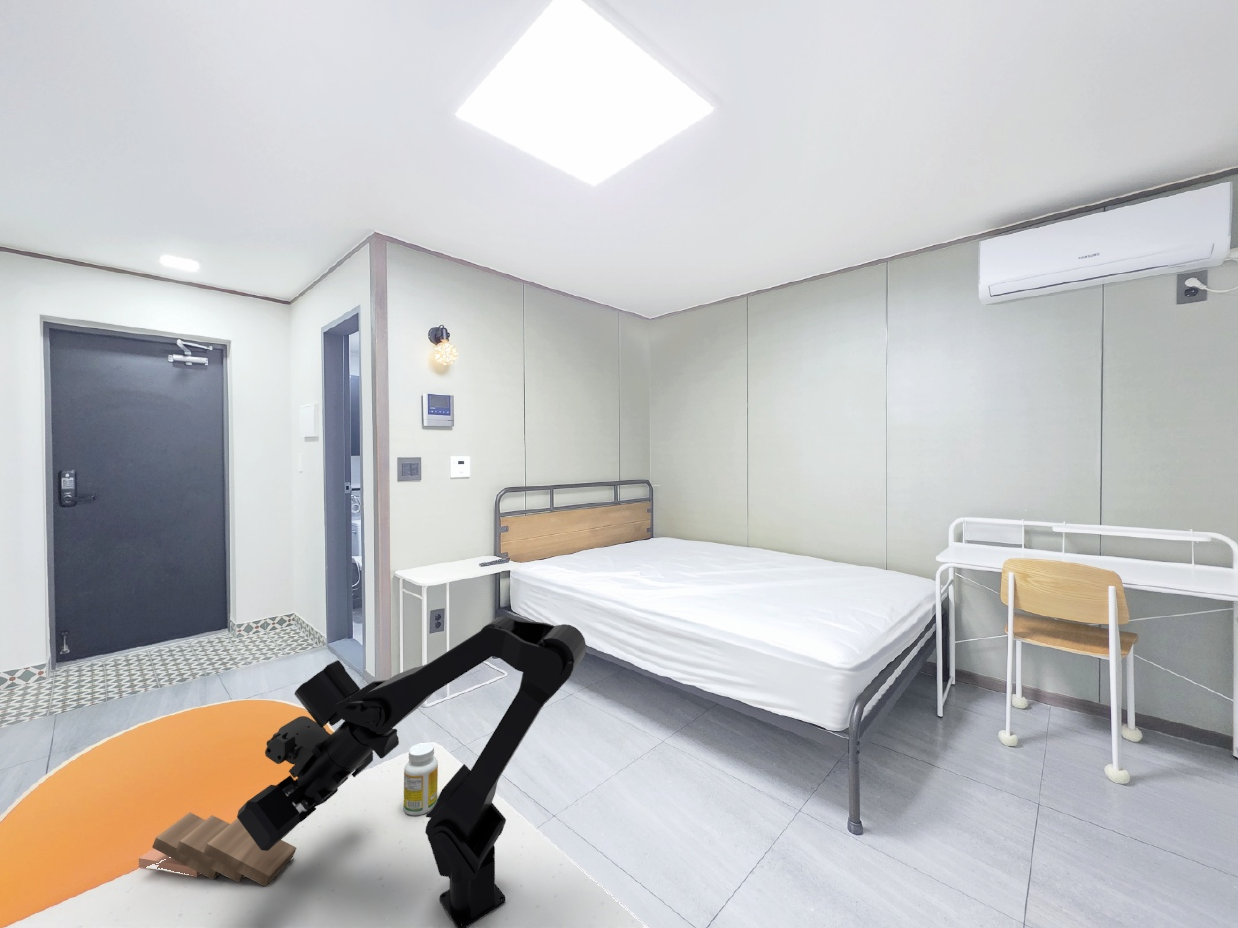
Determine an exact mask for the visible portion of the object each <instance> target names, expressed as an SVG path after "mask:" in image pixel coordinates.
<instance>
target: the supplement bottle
mask: <svg viewBox="0 0 1238 928" xmlns="http://www.w3.org/2000/svg"><path fill="white" fill-rule="evenodd" d="M438 763H439V762H438V759H437V757H436V756H435V746H434V744H433V743H431V742H421V743H417V744H414V745H413V746H411V747H410V748H409V749H408V761H407V762H406V763H405V766H404V768H403V769H404V770H403V811H404V812H405V813H406V814H407V815H409V816H414V817H415V816H420V815H424V814H427V813H428V812H429V811H430V809H431V808H432V807H433V806H434V805H435V803H436V802H437V799H438V781H439V779H438V778H439V777H438V776H439V775H438V773H439V772H438V771H439V770H438V769H439V764H438Z"/></svg>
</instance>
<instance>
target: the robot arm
mask: <svg viewBox="0 0 1238 928" xmlns="http://www.w3.org/2000/svg"><path fill="white" fill-rule="evenodd" d="M586 652H587V644H586V639H585V637H584V635H583V633H582V632H581V630H579V629H578V628H577V627H575V626H573V625H571V624H566V623H565V624H564V623H563V624H558V625H554V624H550V623H546V622H542V621H541V622H540V621H539V622H538V621H530V620H529V621H527V620H519V619H517V618H512V617H508V616H500V617H497V618H495V619H494V620H492V621H491V622H488V623H487V624H486V625H485V626H483V627H482V628H481V629H480V630H479V631H478V632H476V633H475V634H473V635H471V636H470V637H468V638H467V639H465V640H464V641H462V642H460V643H459V644H457V645H456V646H454V647H452V648H450V649H449V650H448V651H446V652H444V653H442V654H441V655H440V656H438V657H437V658H436V657H435V659H433V660H431V662H428V663H426V664H424V665H420V666H417V667H413V668H410V669H407V670H405V671H403V672H400V673H398V674H395V675H393V676H391V677H390V678H388V679H385V680H384V679H383V680H374V681H371V682H370V683H368V684H366V685H365V686H363V687H362V688H360V687H359V685H358V684H357V682H356V681H355V680H354V679H353V678H352V677H351V676H350V674H349V673H348V671H347V670H346V668H345V666H344V665H343V663H342V662H341V661H340V660H338V659H337V660H335V661H333V662H330V663H329V664H327V665H326V666H325V667H324V668H323V669H321V670H320V671H319V672H317V673H316V674H314V675H313V676H312V677H311V678H309V679H308V680H307V681H305V682H303V683H302V684H300V685H299V686H298V688H297V689H296V690H295V692H294V696H295V697H296V699H297V700H298V701H299V702H300V703H301V705H302V706H303V707H304V709H305V710H306V712H308V714H309V715H310V716H311V718H310V717H308V716H305V715H301V716H298V717H296V718H295V719H293V720H291V721H289V722H288V723H285V724H284V725H282V726H281V727H280V728H278V730H277V732H276V733H275V732H274V734H273V735H272V737H271V738H269V739H268V740H267V741H266V749H265V750H264V755H265V757H266V758H268V759H269V760H270V761H272V762H273V763H275V764H277V765H281V764H282V763H284V762H285V761H286V762H287V763H289V764H291V765H293V766H292V767H291V768H290V769H288V773H289V774H290V775H288V776H287V777H285V778H284V779H283V780H282V781H280V782H278V783H277V784H276V785H275V784H270V785H268V786H267V787H265V788H264V789H262V790H261V791H260V792H258V793H257V794H255V795H254V796H253V797H251V798H249V800H247V801H246V802H245V803H244V804H243V805H242V806H241V807H240V808H239V809H238V812H237V816H236V819H237V818H238V819H239V821H240V822H241V823H242V825H243V826H244V827H245V829H246V830H247V832H248V833H249V834H250V836H251V837H252V838H253V840H254V841H255V842H256V844H257V845H258V847H259V848H260V849H261V850H263V851H268V850H270V849H271V848H272V847H273V846H274V845H275V844H277V843H278V842H279V841H280V840H283V839H284V838H285V837H286V836H288V835H289V834H290V833H291V832H292V830H293V829H295V828H296V827H297V826H298V825H299V824H300V823H302V822H303V821H305V820H306V819H307V818H308V817H309V816H310V815H312V814H313V813H314V812H315V811H317V808H316V807H318V806H320V805H322V804H325V803H326V802H327V801H328V800H329V799H331V797H333V796H334V795H335V794H337V792H338V790H339V788H340V787H341V786H342V785H343V784H344V783H345V782H346V781H347V780H348V779H349V776H350V775H352V777H353V778H356V777H357V776H359V774H360V773H362V772H363V771H364V770H365V769H366V768H367V767H368V766H369V765H370V764H371V763H372V762H373V761H374V753H375V755H377V757H378V758H379V759H383V758H385V757H386V756H387V755H388V754H390V753H391V752H392V751H393V750H395V748H397V747H398V746H399V744H400V741H399V740H400V739H399V735H398V729H397V728H395V727H396V726H397V725H398V724H399V723H401V722H402V721H403V720H405V719H407V718H408V717H409V716H410V715H411V714H412V713H413V712H415V711H416V710H417V709H418V708H419V707H420V706H421V705H423V703H425V702H426V701H427V700H429V698H430V697H431V696H432V695H433V694H434V693H436V692H437V691H439V690H440V689H441V688H443V687H445V686H447V685H449V684H450V683H451V682H454V681H455V680H456V679H458V678H460V677H461V676H463V675H464V674H466V673H468V672H469V671H472V669H474V668H475V667H478V666H479V665H481V664H482V663H484V662H486V661H487V660H489V659H490V658H492V657H494V658H497V659H501V660H502V661H503V662H505V663H506V664H507V665H509V667H512V668H513V669H515V670H516V671H518V672H522V674H521V681H520V684H519V688H518V691H517V693H516V695H515V697H514V698H513V700H512V701H511V703H510V704H509V706H508V708H507V709H506V711H505V713H504V715H503V716H502V718H501V719H500V721H499V723H498V725H497V726H496V727H495V729H494V731H493V733H492V734H491V736H490V738H489V740H488V741H487V742H486V744H485V746H484V748H483V749H482V751H481V753H480V754H479V756H478V757H477V759H476V761H475V762H474V764H473V765H472V767H471V769H470V768H469V767H468V766H467V765H466V764H465V763H464V764H463V765H461V767H460V768H459V769H458V770H457V772H455V774H453V776H452V777H451V778H450V780H449V781H448V782H447V783H446V784H445V785H444V787H443V788H442V789H441V791H440V793H439V794H438V796H437V802H436V803H435V805H434V806H433V807H432V808H431V809H430V811H428V812H427V813H425V817H426V818H428V819H429V820H428V821H427V823H426V825H425V826H426V827H425V832H424V833H425V835H426V836H427V841H428V842H429V844H430V848H431V850H432V854H433V858H434V860H435V864H436V867H437V871H438V874H439V876H440V877H446V878H448V879H449V889H447V890H445V891H444V892H442V893H440V895H439V902H440V904H441V905H442V908H443V909H444V911H445V912H446V913H447V915H448V917H449V918H450V920H451V922H452V923H453V925H454V927H456V928H468V927H470V926H471V925H473V924H474V923H476V922H478V921H479V920H480V919H482V918H484V917H485V916H487V915H488V914H490V913H492V912H493V911H494V910H496V909H497V908H499V907H501V906H502V905H503V904H505V903H506V896H505V894H504V893H503V891H502V890H501V889H500V888H499V887H498V885H497V884H496V849H495V848H496V847H495V843H496V841H497V840H498V838H499V837H500V836H501V835H502V833H503V830H504V828H505V825H506V822H507V819H506V818H505V816H504V815H503V814H502V813H501V812H500V810H499V809H498V808H497V807H496V805H494V803H493V800H494V797H495V795H496V792H497V786H498V782H499V780H500V778H501V776H502V775H503V772H504V771H505V770H506V768H507V767H508V765H509V763H510V762H511V760H512V758H513V756H514V755H515V754H516V751H517V750H518V749H519V747H520V745H521V743H522V741H523V740H524V738H525V737H526V735H527V734H528V732H529V730H530V729H531V727H532V725H533V724H534V722H535V721H536V719H537V718H538V716H539V713H541V710H542V709H543V707H544V706H545V705H546V704H547V703H548V702H549V701H550V700H551V698H552V697H553V696H554V695H555V694H557V692H558V691H559V690H560V688H562V687H563V685H564V684H565V683H566V682H567V681H568V680H569V678H570V677H571V676H572V674H574V671H575V670H576V669H577V667H578V665H579V664H580V663H581V661H582V660H583V659H584V657H585V655H586ZM341 720H343V722H342V723H341V724H340V725H339V726H338V727H337V728H336V729H335V730H334V731H333V732H332V733H329V732H328V731H327V729H326V728H325V726H326V725H327V724H329V726H331V727H332V726H334V725H336V724H338V723H339V722H340V721H341Z"/></svg>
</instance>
